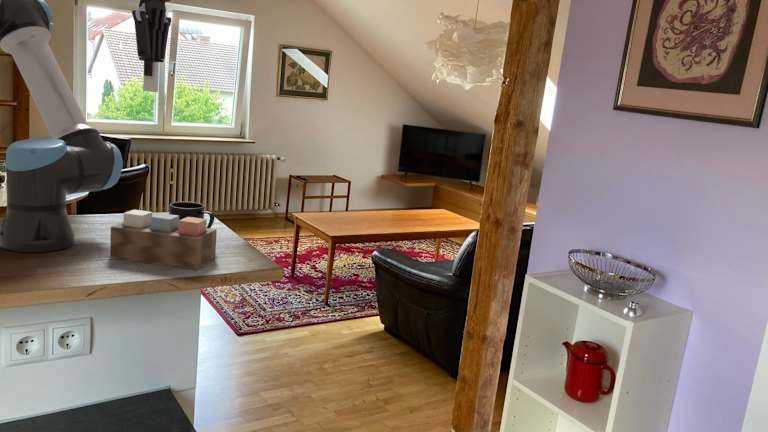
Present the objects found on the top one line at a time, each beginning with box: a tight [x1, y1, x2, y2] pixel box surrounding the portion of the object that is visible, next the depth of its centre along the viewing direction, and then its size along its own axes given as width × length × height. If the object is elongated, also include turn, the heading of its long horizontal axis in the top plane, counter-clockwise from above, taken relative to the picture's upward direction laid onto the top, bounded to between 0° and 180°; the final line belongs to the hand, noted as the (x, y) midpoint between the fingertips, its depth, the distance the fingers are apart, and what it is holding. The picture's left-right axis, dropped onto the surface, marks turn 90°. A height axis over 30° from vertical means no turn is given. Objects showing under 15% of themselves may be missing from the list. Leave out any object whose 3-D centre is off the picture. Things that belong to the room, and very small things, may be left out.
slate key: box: [151, 212, 179, 232], centre depth 142 cm, size 4×4×7 cm
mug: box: [168, 201, 216, 229], centre depth 155 cm, size 8×12×10 cm
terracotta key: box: [179, 217, 208, 236], centre depth 141 cm, size 4×4×7 cm
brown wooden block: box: [109, 221, 217, 271], centre depth 142 cm, size 20×10×7 cm, turn 82°
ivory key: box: [122, 209, 153, 228], centre depth 142 cm, size 4×4×7 cm
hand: (150, 91), depth 141 cm, fingers closed
